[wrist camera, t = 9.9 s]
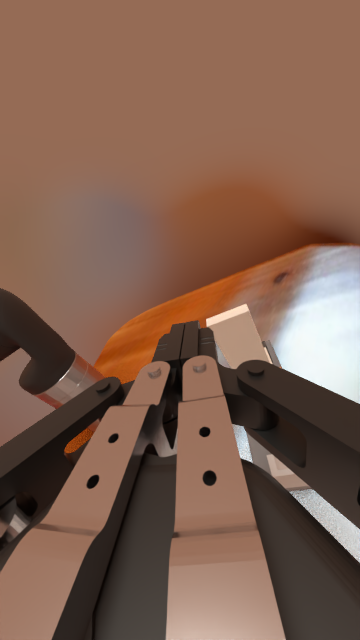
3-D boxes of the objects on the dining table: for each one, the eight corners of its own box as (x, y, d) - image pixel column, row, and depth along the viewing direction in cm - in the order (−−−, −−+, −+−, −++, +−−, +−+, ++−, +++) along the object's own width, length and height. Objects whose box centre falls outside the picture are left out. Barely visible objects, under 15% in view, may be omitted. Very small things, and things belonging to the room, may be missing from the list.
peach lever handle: (283, 386, 31) (253, 309, 23) (243, 396, 33) (203, 328, 25) (273, 364, 35) (244, 290, 26) (238, 374, 36) (201, 308, 28)
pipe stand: (335, 486, 23) (330, 467, 20) (262, 493, 25) (246, 478, 22) (270, 344, 40) (262, 322, 37) (231, 357, 43) (220, 337, 39)
